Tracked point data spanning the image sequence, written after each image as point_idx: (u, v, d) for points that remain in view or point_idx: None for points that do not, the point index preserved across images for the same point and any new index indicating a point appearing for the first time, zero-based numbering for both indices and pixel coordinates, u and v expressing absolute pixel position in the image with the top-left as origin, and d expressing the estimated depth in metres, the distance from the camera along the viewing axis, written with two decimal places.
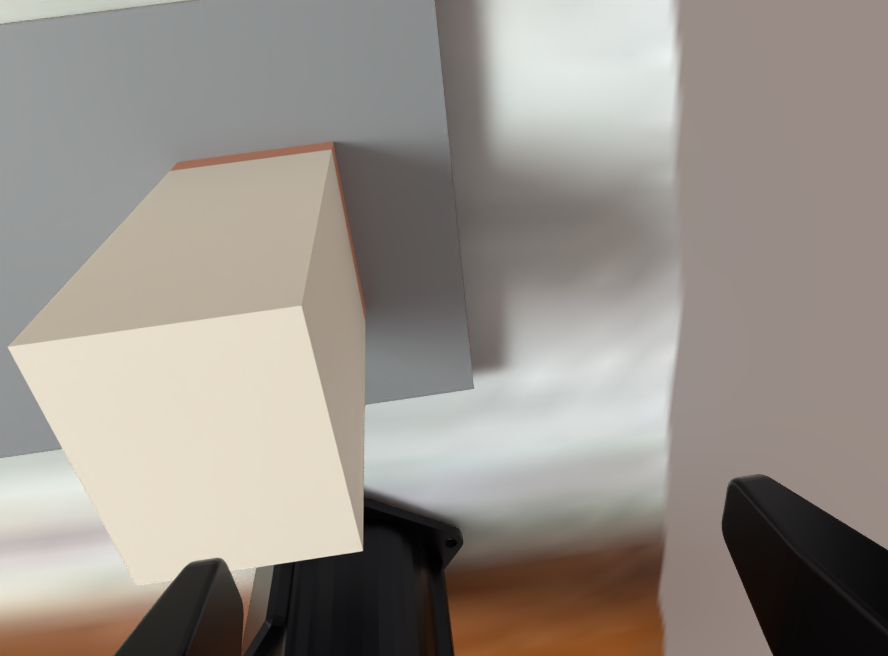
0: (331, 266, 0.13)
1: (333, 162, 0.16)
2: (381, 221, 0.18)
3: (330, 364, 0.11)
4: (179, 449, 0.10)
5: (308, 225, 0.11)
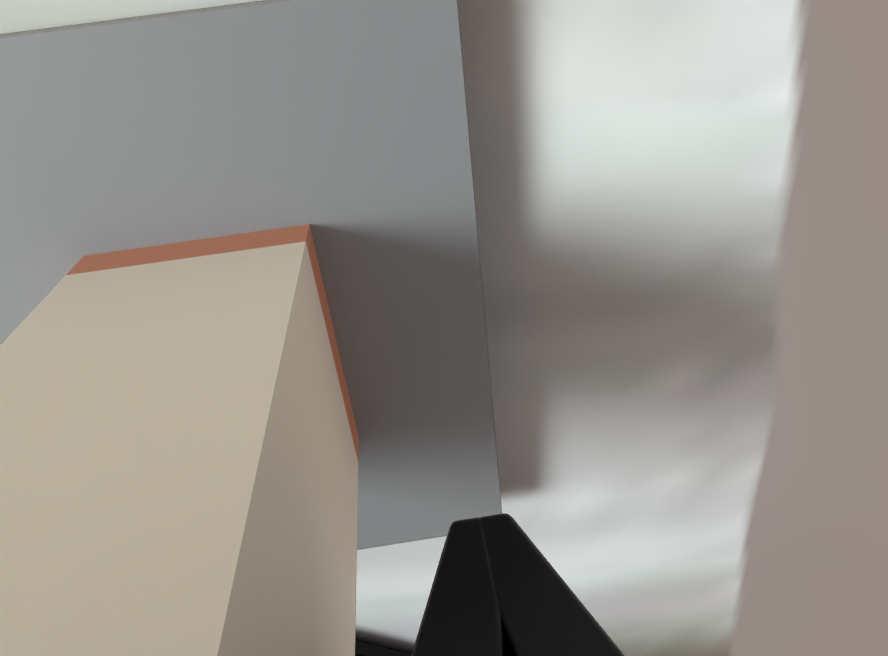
0: (295, 478, 0.07)
1: (308, 260, 0.11)
2: (379, 328, 0.13)
3: None
4: None
5: (247, 441, 0.06)
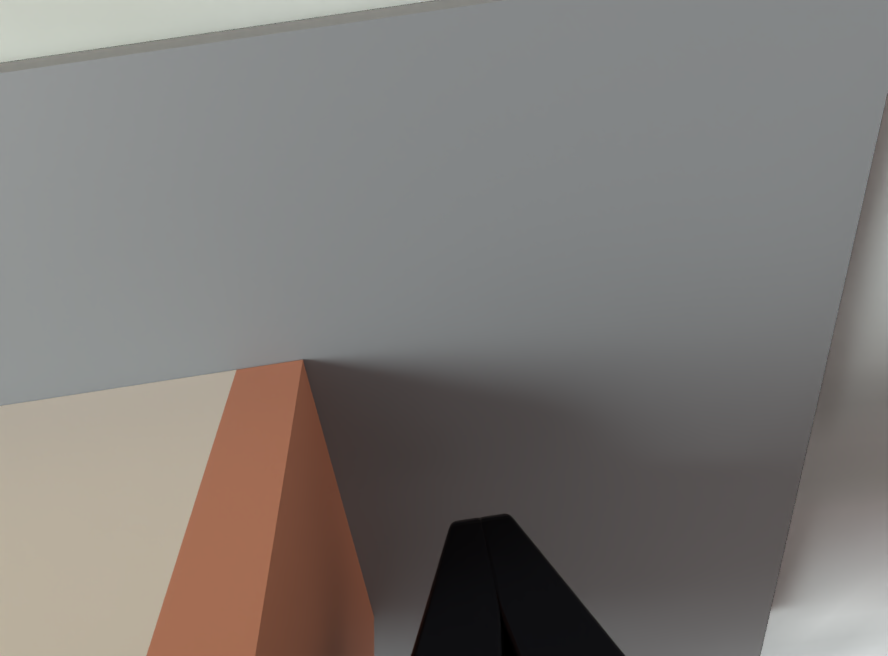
0: None
1: None
2: (669, 442, 0.09)
3: None
4: None
5: None
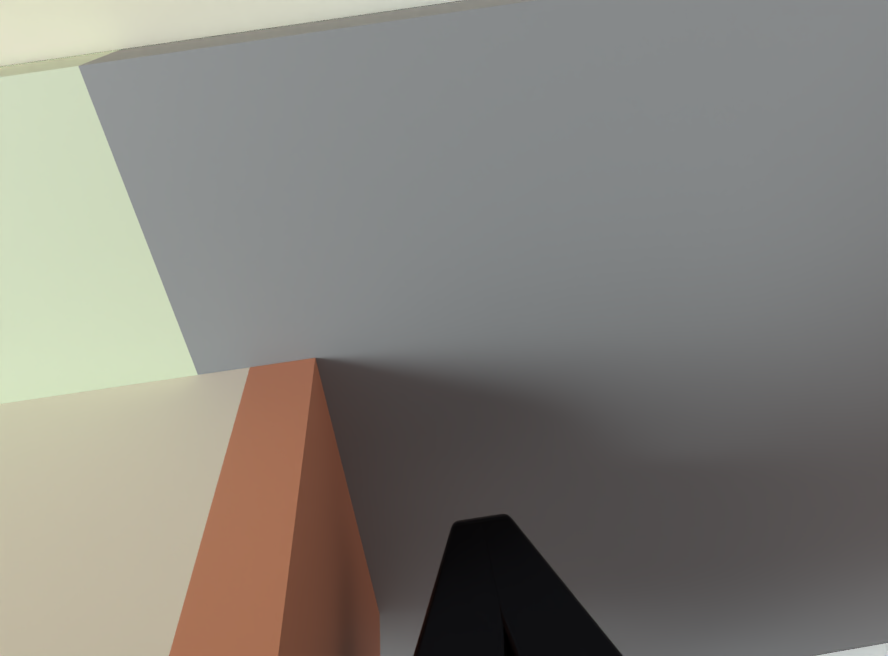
0: None
1: None
2: None
3: None
4: None
5: None
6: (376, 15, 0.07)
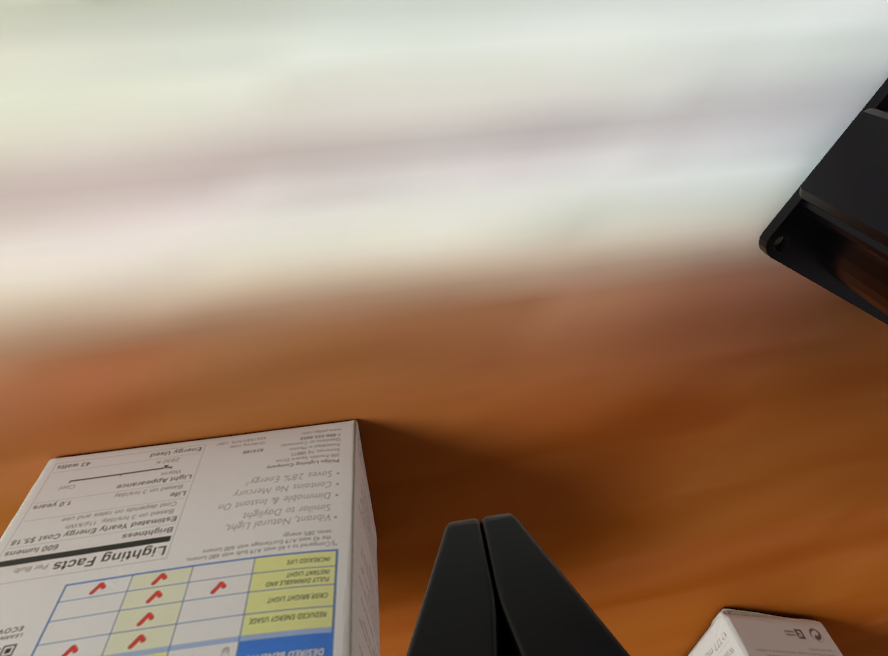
0: None
1: None
2: None
3: None
4: None
5: None
6: None
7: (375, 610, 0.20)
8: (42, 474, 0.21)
